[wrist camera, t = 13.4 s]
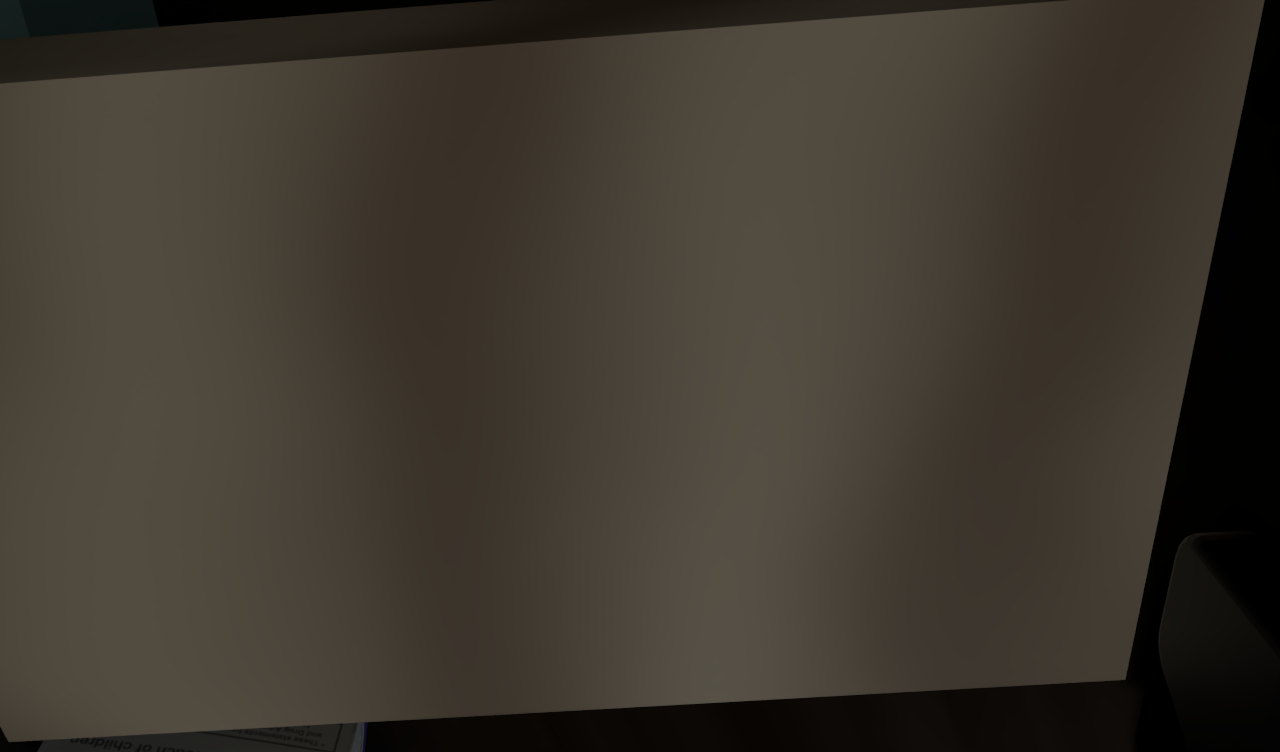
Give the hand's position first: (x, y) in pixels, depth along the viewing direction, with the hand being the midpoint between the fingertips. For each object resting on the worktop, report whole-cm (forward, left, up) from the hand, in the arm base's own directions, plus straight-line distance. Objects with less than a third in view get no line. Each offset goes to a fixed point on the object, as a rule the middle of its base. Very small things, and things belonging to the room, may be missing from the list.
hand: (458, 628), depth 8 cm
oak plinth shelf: (0, +2, -12) cm, 12 cm away
